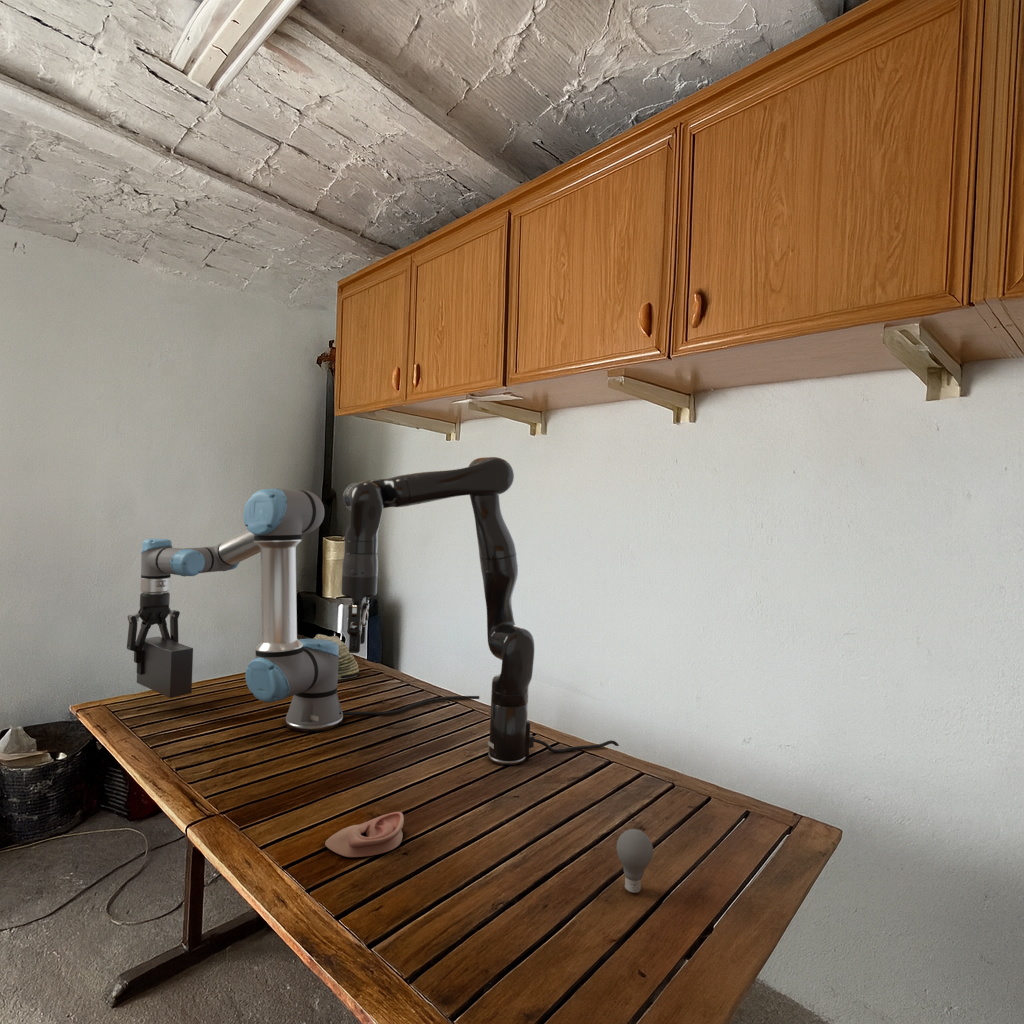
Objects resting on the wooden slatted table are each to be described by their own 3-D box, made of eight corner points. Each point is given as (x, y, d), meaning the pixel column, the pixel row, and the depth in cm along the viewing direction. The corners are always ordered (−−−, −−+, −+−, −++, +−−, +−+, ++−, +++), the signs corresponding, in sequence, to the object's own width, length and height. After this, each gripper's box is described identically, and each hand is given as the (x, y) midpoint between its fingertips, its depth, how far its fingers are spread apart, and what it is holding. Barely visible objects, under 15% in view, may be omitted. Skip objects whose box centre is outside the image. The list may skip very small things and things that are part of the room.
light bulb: (610, 879, 108) (613, 822, 108) (644, 879, 109) (647, 822, 109) (619, 902, 102) (622, 840, 102) (655, 901, 103) (658, 840, 103)
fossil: (300, 678, 217) (301, 634, 217) (349, 670, 229) (351, 629, 229) (311, 684, 210) (313, 639, 210) (361, 676, 223) (363, 633, 222)
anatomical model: (317, 830, 113) (346, 800, 124) (316, 852, 113) (345, 821, 124) (387, 841, 110) (410, 810, 121) (386, 864, 110) (410, 831, 121)
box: (136, 682, 183) (138, 639, 183) (157, 678, 188) (159, 636, 188) (169, 698, 171) (171, 651, 171) (191, 693, 176) (193, 648, 176)
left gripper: (125, 596, 174) (122, 680, 174) (194, 590, 189) (191, 667, 189) (113, 593, 178) (110, 675, 179) (182, 587, 193) (179, 663, 194)
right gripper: (374, 578, 130) (371, 656, 131) (380, 570, 145) (377, 640, 145) (336, 577, 130) (333, 655, 130) (347, 569, 144) (344, 640, 144)
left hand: (152, 671), depth 184 cm, fingers closed on box, 6 cm apart
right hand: (357, 647), depth 137 cm, fingers open, 8 cm apart
